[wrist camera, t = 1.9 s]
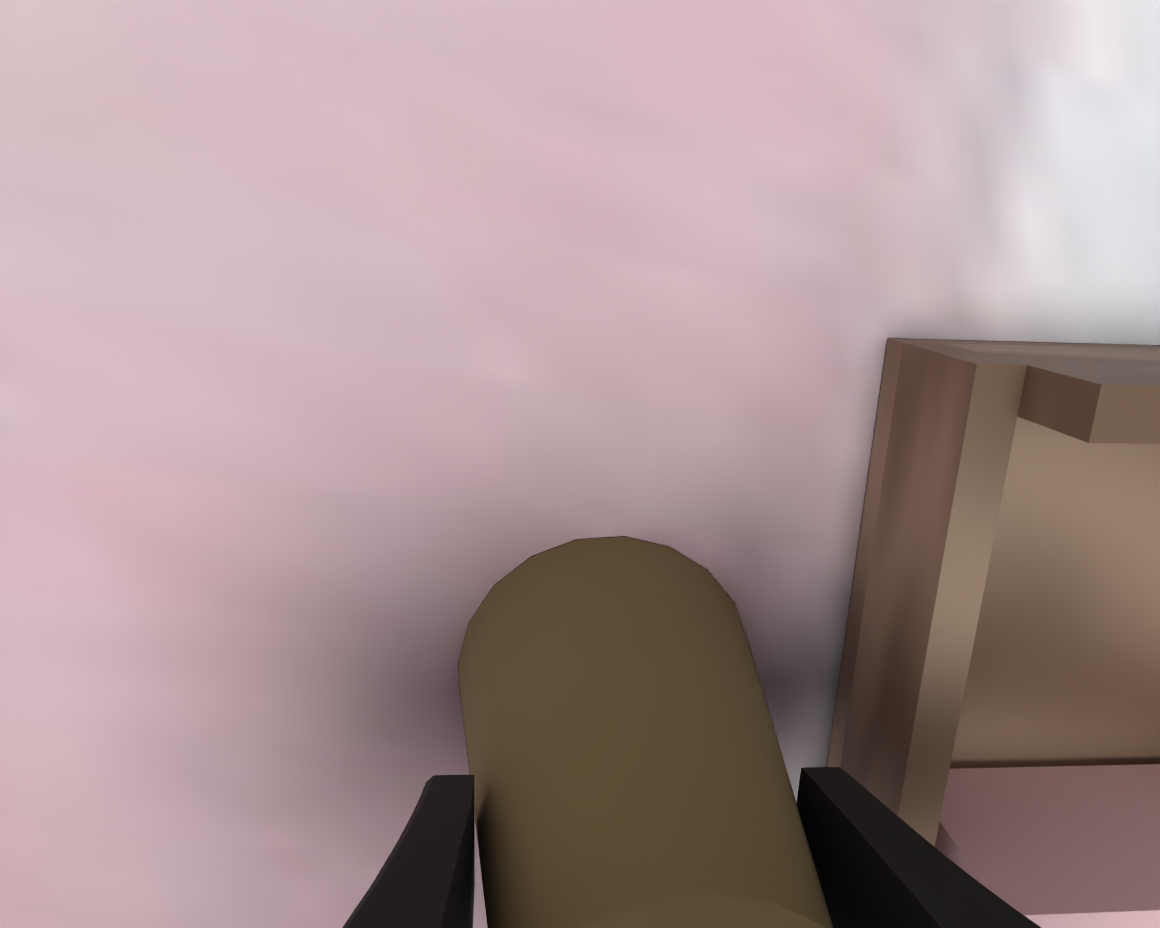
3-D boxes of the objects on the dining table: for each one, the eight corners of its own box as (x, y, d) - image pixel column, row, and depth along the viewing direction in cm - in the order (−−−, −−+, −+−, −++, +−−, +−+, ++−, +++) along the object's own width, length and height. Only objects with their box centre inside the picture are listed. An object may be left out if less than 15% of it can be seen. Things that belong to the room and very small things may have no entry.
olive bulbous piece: (424, 573, 16) (233, 1295, 5) (727, 506, 16) (1167, 1078, 5) (495, 822, 17) (465, 1748, 7) (767, 762, 17) (1155, 1579, 7)
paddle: (1228, 801, 18) (1409, 945, 14) (895, 809, 17) (996, 963, 13) (1240, 762, 17) (1427, 899, 14) (902, 769, 17) (1008, 915, 13)
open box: (1187, 950, 20) (1378, 1154, 16) (798, 967, 19) (883, 1188, 15) (1375, 351, 16) (1709, 397, 11) (888, 338, 15) (1044, 383, 10)
